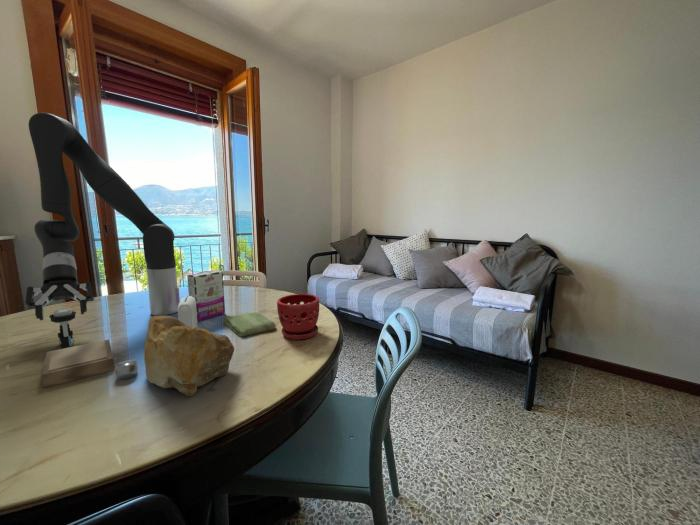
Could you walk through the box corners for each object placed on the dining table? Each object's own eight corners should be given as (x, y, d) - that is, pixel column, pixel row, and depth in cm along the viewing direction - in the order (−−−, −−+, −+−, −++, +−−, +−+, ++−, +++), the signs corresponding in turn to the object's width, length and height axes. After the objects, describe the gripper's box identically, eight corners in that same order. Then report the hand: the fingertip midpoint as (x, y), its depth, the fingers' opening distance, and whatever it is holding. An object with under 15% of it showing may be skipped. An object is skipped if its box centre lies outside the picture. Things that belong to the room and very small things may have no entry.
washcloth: (258, 316, 113) (257, 308, 112) (278, 330, 99) (278, 321, 99) (221, 323, 105) (221, 314, 104) (238, 340, 91) (237, 330, 91)
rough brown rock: (255, 386, 68) (257, 321, 67) (176, 416, 55) (177, 337, 54) (208, 356, 83) (209, 303, 82) (137, 375, 70) (137, 312, 69)
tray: (110, 349, 82) (108, 338, 81) (114, 369, 72) (113, 357, 71) (48, 363, 74) (46, 350, 73) (43, 388, 64) (41, 373, 63)
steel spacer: (136, 369, 72) (135, 358, 72) (138, 376, 69) (137, 364, 69) (115, 375, 69) (114, 363, 69) (117, 382, 66) (115, 370, 66)
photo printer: (184, 330, 96) (181, 293, 94) (198, 329, 98) (196, 292, 96) (178, 343, 87) (175, 302, 85) (194, 341, 88) (192, 301, 86)
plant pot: (303, 324, 105) (303, 290, 103) (327, 335, 95) (327, 298, 94) (269, 333, 96) (269, 297, 94) (293, 346, 86) (292, 307, 84)
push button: (52, 343, 85) (47, 309, 83) (77, 338, 89) (73, 305, 87) (54, 350, 81) (49, 315, 79) (80, 344, 85) (76, 310, 83)
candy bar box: (217, 311, 116) (215, 269, 113) (225, 313, 113) (223, 271, 111) (189, 319, 106) (186, 274, 104) (197, 322, 104) (194, 276, 101)
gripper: (23, 265, 85) (23, 314, 78) (89, 261, 94) (94, 304, 88) (28, 280, 90) (28, 327, 83) (91, 275, 99) (95, 317, 92)
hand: (62, 315), depth 85 cm, fingers open, 8 cm apart
